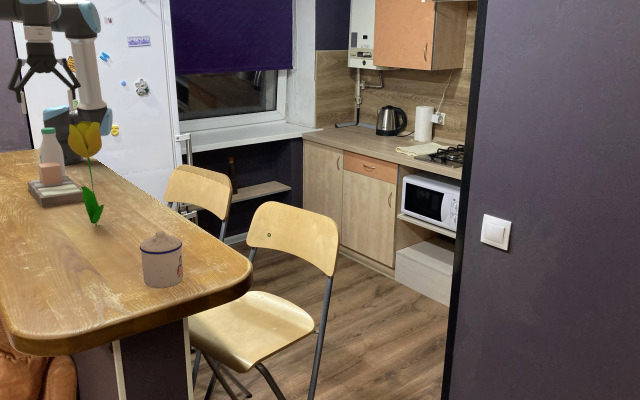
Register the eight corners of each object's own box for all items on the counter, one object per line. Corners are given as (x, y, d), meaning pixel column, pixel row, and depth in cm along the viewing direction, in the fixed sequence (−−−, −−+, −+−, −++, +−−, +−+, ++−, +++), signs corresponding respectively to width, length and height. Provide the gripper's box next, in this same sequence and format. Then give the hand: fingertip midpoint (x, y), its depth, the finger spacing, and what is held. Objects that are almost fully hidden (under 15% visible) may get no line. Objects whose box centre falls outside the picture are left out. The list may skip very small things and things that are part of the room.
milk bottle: (71, 181, 198) (64, 127, 192) (56, 186, 191) (49, 130, 185) (53, 179, 200) (46, 126, 194) (38, 184, 192) (30, 129, 187)
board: (28, 189, 187) (27, 180, 186) (68, 183, 194) (67, 175, 193) (42, 207, 168) (41, 197, 167) (85, 200, 176) (84, 191, 175)
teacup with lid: (187, 285, 119) (184, 236, 115) (145, 292, 115) (140, 241, 112) (178, 264, 129) (175, 218, 126) (139, 270, 126) (134, 223, 122)
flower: (117, 222, 156) (107, 120, 147) (99, 231, 149) (87, 124, 140) (92, 219, 159) (80, 118, 150) (73, 228, 151) (59, 122, 142)
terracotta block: (40, 180, 185) (37, 164, 184) (58, 178, 189) (56, 162, 187) (43, 184, 181) (41, 167, 179) (62, 182, 184) (60, 165, 182)
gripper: (-7, 41, 152) (5, 116, 158) (86, 42, 166) (93, 110, 172) (-10, 41, 157) (1, 113, 164) (79, 41, 172) (87, 107, 178)
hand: (48, 112), depth 168 cm, fingers open, 13 cm apart
